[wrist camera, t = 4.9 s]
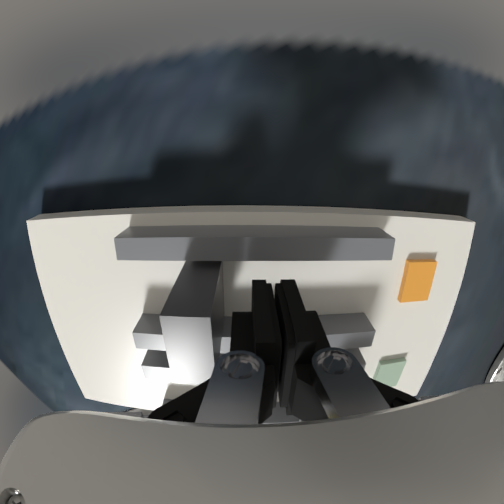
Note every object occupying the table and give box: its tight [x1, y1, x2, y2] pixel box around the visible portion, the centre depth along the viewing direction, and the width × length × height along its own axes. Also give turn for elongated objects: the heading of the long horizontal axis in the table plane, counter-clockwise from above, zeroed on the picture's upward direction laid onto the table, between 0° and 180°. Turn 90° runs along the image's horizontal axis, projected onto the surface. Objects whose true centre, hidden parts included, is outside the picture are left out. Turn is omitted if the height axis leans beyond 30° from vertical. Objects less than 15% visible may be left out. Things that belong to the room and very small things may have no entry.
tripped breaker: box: [159, 261, 225, 385], centre depth 11 cm, size 2×3×5 cm, turn 179°
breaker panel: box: [27, 205, 475, 424], centre depth 15 cm, size 26×14×3 cm, turn 89°
